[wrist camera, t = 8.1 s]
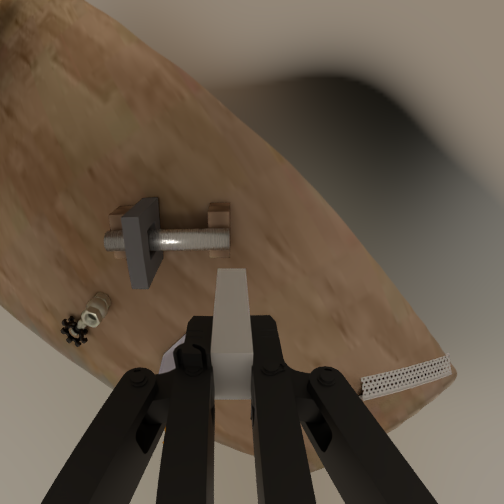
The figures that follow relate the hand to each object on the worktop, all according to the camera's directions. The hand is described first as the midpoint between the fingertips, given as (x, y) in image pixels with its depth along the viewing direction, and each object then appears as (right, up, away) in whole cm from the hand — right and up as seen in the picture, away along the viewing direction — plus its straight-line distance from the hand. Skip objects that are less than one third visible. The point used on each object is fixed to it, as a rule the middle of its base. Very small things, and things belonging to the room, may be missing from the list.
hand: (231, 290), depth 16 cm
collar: (-14, +6, +28) cm, 32 cm away
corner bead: (+43, -31, +51) cm, 73 cm away
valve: (-31, -9, +36) cm, 48 cm away
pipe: (-11, +4, +25) cm, 28 cm away
